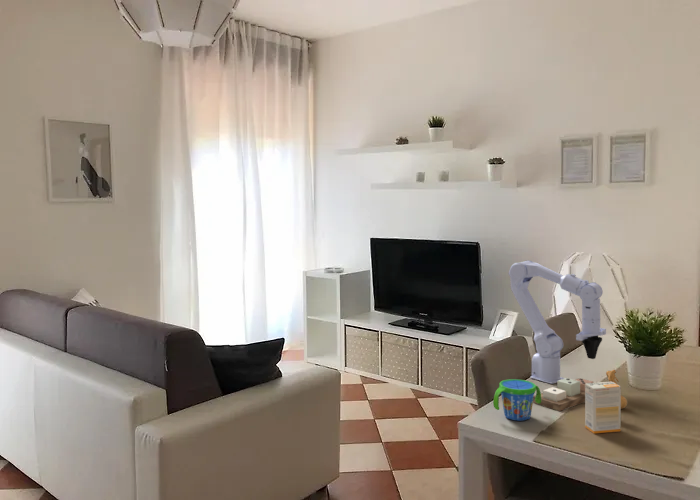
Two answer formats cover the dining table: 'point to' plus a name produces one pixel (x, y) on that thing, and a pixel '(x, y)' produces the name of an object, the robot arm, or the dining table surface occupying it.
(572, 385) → the tile two
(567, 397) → the tile board
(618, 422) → the supplement box
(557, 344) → the robot arm
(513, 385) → the snack cup
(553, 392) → the tile one
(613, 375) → the figurine
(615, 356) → the dining table surface
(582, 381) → the tile three
